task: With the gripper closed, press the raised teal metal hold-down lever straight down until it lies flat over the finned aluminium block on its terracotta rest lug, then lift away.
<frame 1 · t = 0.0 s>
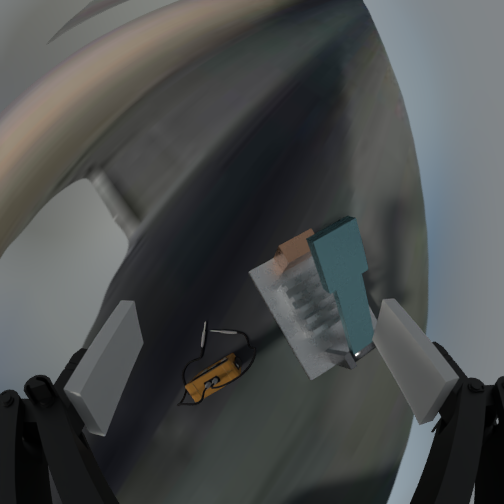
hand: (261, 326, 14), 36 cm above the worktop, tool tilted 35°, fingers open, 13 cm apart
heatsink base: (316, 304, 50), on the worktop
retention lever: (352, 301, 35), point 16 cm above the worktop, hinge at 35.0°
multimeter: (208, 352, 48), on the worktop
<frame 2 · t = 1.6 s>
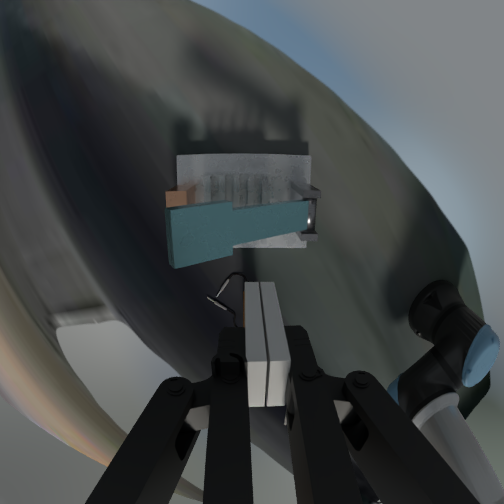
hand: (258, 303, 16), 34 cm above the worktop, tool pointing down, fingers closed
heatsink base: (243, 199, 48), on the worktop
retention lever: (253, 222, 34), point 16 cm above the worktop, hinge at 35.0°
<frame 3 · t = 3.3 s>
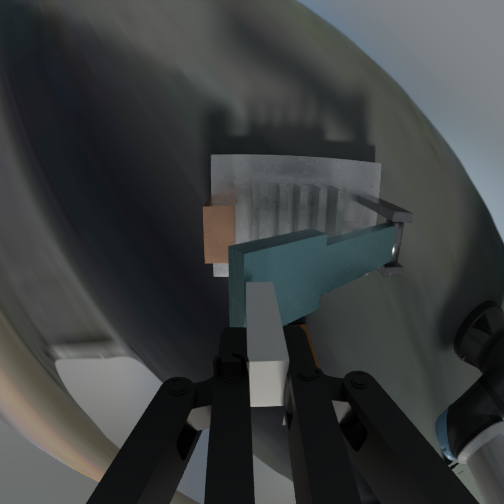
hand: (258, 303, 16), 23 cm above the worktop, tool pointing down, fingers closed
heatsink base: (296, 215, 38), on the worktop
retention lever: (342, 259, 23), point 16 cm above the worktop, hinge at 34.8°, touching gripper
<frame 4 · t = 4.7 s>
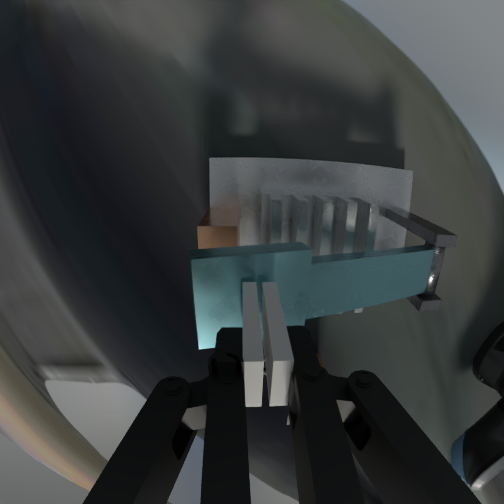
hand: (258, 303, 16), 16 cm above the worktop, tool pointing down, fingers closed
heatsink base: (312, 232, 31), on the worktop
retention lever: (347, 282, 19), point 13 cm above the worktop, hinge at 14.5°, touching gripper
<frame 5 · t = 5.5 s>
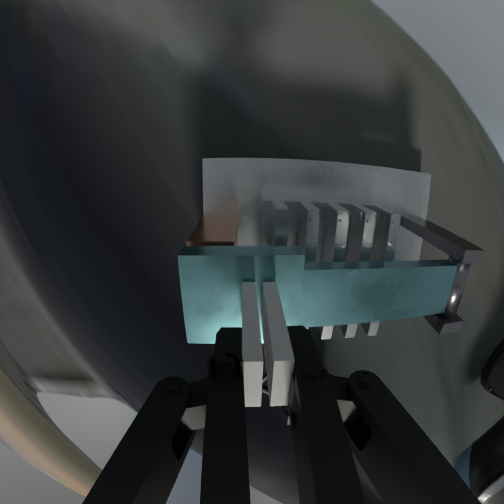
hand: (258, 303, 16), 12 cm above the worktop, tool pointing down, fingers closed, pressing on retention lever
heatsink base: (319, 242, 28), on the worktop
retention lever: (350, 293, 18), point 11 cm above the worktop, hinge at 1.8°, touching gripper
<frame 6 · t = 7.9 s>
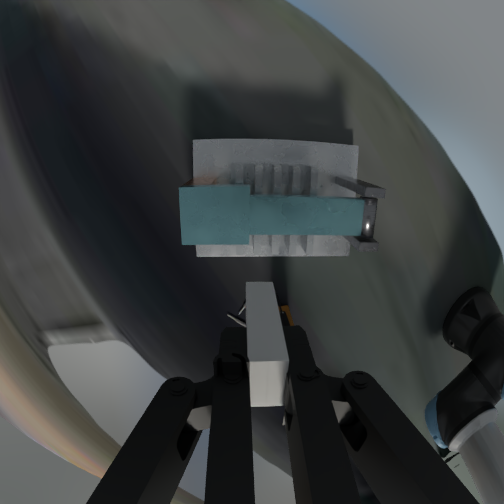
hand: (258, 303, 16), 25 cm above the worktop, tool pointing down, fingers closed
heatsink base: (275, 197, 39), on the worktop
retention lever: (283, 214, 29), point 10 cm above the worktop, hinge at -0.3°
multimeter: (258, 323, 47), on the worktop
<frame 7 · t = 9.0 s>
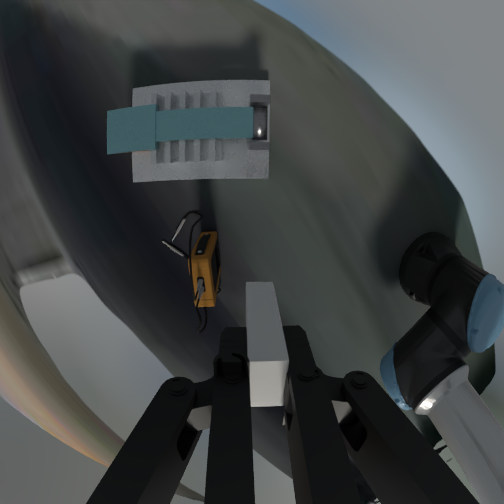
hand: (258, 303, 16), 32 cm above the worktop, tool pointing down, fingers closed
heatsink base: (199, 129, 42), on the worktop
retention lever: (183, 124, 32), point 10 cm above the worktop, hinge at -0.3°
multimeter: (191, 252, 50), on the worktop
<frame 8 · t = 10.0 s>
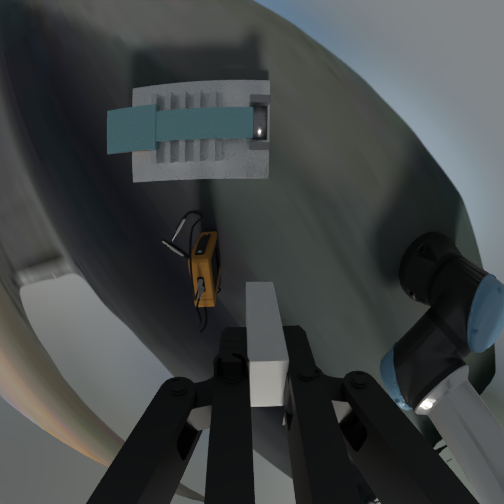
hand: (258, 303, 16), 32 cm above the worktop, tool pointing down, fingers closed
heatsink base: (199, 129, 42), on the worktop
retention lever: (183, 124, 32), point 10 cm above the worktop, hinge at -0.3°
multimeter: (191, 252, 50), on the worktop
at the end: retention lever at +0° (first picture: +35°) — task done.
